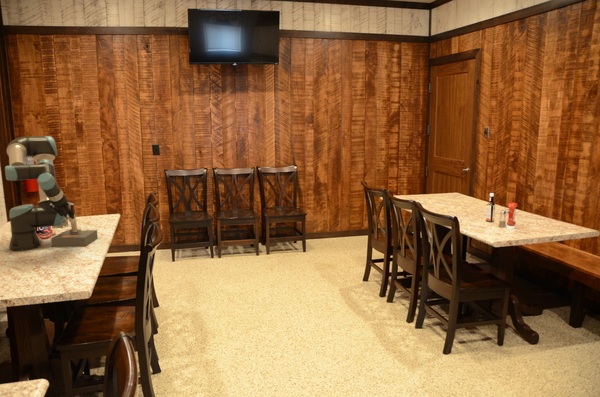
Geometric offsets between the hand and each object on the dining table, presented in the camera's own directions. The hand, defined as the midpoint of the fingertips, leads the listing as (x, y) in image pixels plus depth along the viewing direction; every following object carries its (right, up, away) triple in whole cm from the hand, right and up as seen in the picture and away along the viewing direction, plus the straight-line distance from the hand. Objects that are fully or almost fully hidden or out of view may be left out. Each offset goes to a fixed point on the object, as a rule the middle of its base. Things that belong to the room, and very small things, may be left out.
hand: (72, 221), depth 267 cm
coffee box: (-31, -6, +47) cm, 57 cm away
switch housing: (-1, -12, +5) cm, 13 cm away
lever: (-1, -7, +4) cm, 8 cm away
